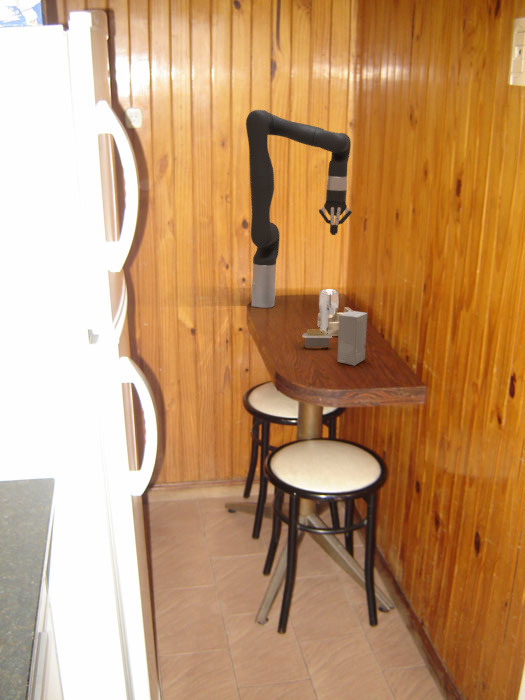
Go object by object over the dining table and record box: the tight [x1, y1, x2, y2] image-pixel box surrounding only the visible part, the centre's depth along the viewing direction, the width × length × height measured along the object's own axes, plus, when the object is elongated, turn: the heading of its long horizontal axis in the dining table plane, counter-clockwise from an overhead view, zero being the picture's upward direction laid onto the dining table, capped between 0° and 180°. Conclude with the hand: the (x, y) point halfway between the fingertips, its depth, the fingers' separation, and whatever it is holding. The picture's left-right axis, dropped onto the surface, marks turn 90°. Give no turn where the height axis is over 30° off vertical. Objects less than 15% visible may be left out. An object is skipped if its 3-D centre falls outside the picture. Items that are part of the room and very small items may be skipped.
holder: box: [317, 306, 353, 336], centre depth 265 cm, size 12×13×7 cm
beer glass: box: [318, 288, 339, 333], centre depth 262 cm, size 7×7×15 cm
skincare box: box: [337, 310, 368, 367], centre depth 232 cm, size 8×7×16 cm
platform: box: [302, 328, 333, 348], centre depth 246 cm, size 12×18×7 cm, turn 94°
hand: (333, 234), depth 279 cm, fingers closed
